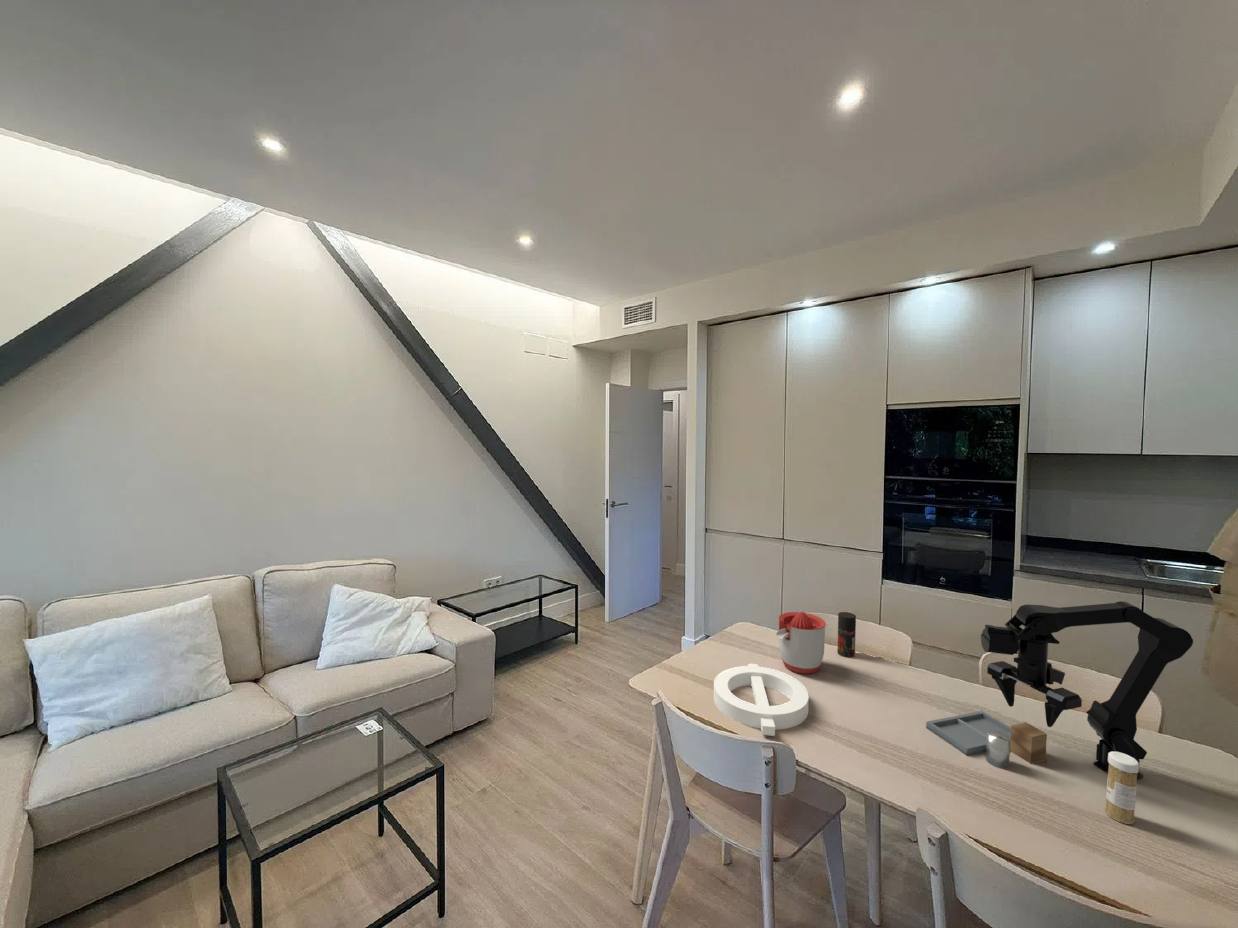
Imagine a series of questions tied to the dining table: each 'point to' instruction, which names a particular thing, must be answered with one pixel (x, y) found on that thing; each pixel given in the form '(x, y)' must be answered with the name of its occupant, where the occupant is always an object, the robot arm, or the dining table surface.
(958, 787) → the dining table surface
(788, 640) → the citrus juicer
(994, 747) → the steel cylinder
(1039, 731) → the walnut block
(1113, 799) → the sprinkles bottle
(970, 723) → the tray
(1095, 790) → the dining table surface
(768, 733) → the ring with crossbar
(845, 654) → the deodorant
